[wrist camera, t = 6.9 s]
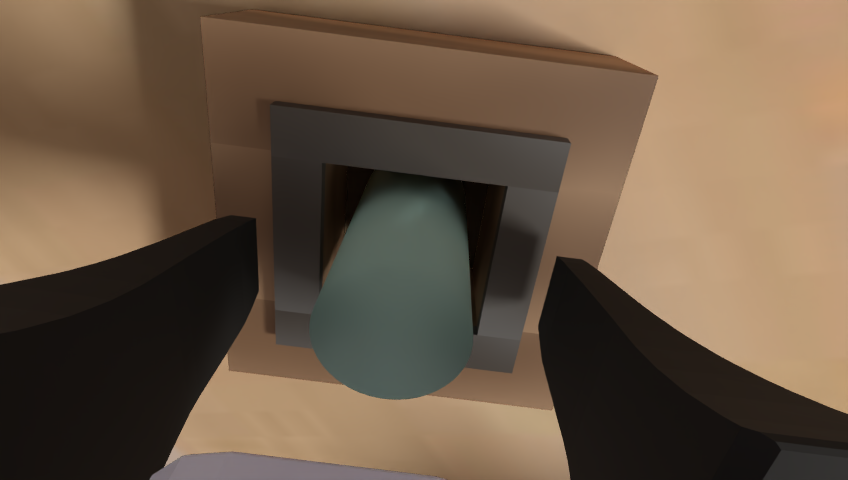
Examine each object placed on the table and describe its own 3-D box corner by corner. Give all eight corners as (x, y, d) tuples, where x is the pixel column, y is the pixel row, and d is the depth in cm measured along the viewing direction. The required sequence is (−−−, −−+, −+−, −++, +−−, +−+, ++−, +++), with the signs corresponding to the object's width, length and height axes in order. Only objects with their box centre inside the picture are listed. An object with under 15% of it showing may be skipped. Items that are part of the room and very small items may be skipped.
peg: (454, 252, 17) (454, 410, 11) (359, 235, 17) (303, 385, 10) (475, 162, 15) (490, 284, 9) (372, 142, 15) (316, 252, 9)
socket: (536, 344, 18) (554, 420, 15) (263, 309, 18) (223, 379, 15) (616, 56, 14) (665, 79, 11) (252, 9, 14) (191, 17, 10)
